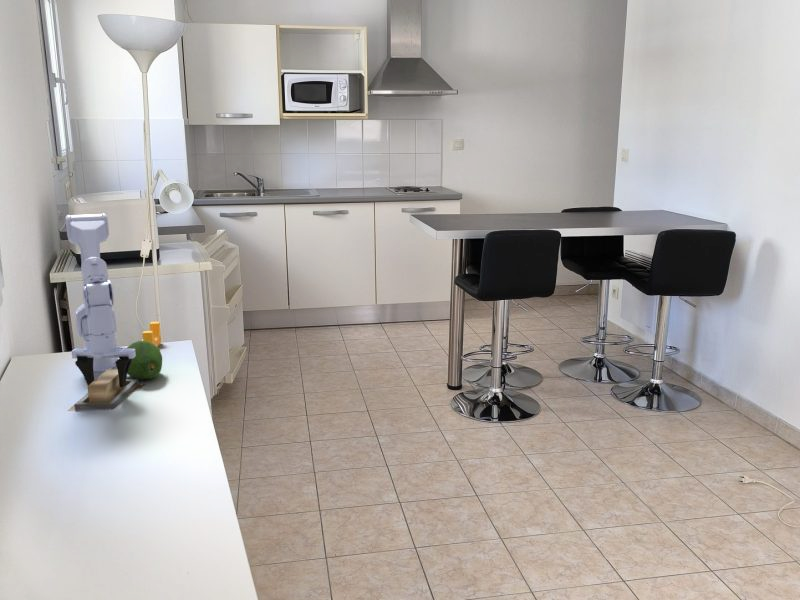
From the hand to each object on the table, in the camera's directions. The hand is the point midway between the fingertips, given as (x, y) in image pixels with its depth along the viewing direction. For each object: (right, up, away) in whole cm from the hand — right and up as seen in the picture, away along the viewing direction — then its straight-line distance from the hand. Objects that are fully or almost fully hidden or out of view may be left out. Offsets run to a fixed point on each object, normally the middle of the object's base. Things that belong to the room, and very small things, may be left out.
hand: (107, 385), depth 174 cm
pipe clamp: (-4, +6, +42) cm, 43 cm away
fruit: (+4, 0, +15) cm, 16 cm away
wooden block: (0, -3, +1) cm, 3 cm away
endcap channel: (0, -4, +1) cm, 4 cm away
